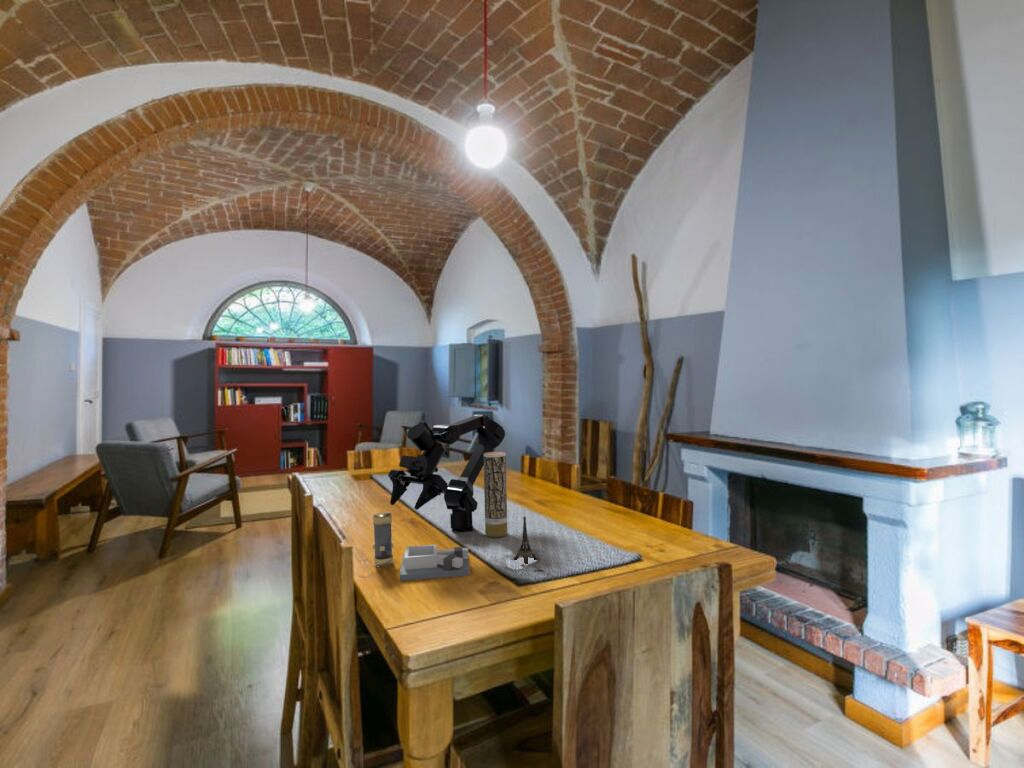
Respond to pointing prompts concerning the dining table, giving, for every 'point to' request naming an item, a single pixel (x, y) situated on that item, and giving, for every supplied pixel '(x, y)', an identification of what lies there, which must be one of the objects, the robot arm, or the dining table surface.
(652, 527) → the dining table surface
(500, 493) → the brown textured cylinder
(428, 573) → the shaft stand
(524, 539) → the eiffel tower figurine
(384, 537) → the coupling
